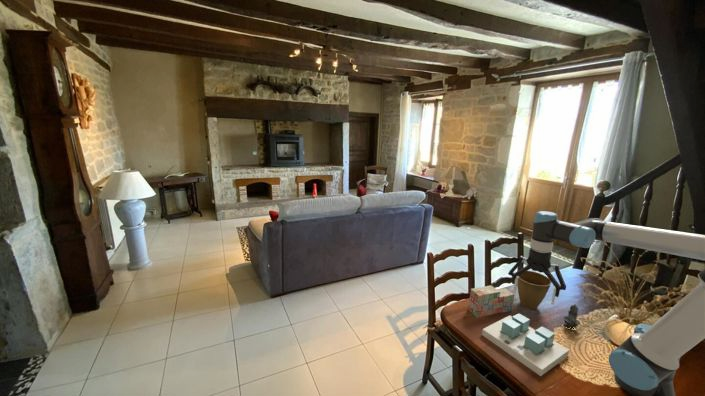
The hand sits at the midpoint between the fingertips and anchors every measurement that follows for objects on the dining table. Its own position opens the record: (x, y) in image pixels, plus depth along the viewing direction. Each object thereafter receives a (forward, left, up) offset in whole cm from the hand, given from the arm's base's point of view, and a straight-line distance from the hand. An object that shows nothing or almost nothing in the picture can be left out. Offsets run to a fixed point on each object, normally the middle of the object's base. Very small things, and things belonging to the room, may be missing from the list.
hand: (533, 296), depth 121 cm
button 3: (-7, +6, -18) cm, 20 cm away
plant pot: (+13, -27, -21) cm, 36 cm away
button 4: (-7, -1, -18) cm, 19 cm away
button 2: (+3, -1, -18) cm, 18 cm away
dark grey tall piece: (-6, -27, -21) cm, 34 cm away
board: (-2, +4, -21) cm, 21 cm away
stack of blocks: (+20, -5, -21) cm, 30 cm away
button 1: (+3, +6, -18) cm, 19 cm away
